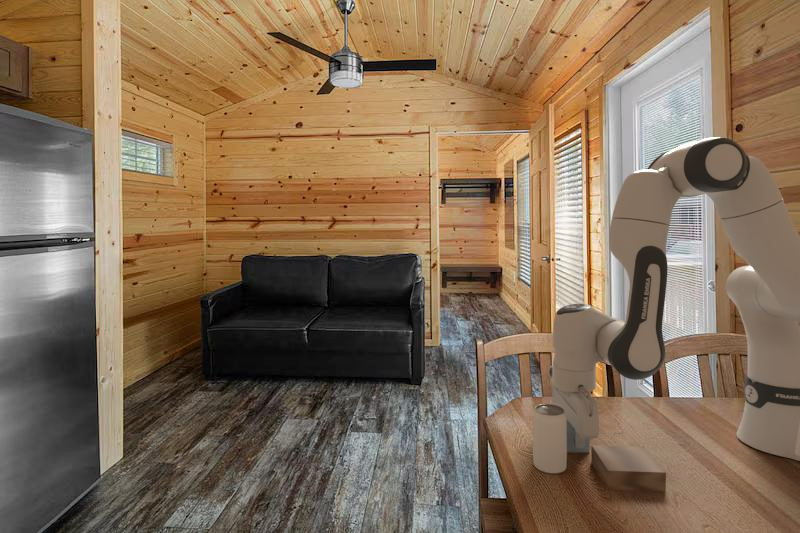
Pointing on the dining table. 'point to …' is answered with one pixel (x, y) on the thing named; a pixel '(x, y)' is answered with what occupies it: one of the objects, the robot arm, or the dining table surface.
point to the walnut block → (628, 468)
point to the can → (549, 439)
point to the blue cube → (570, 441)
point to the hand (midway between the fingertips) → (574, 439)
